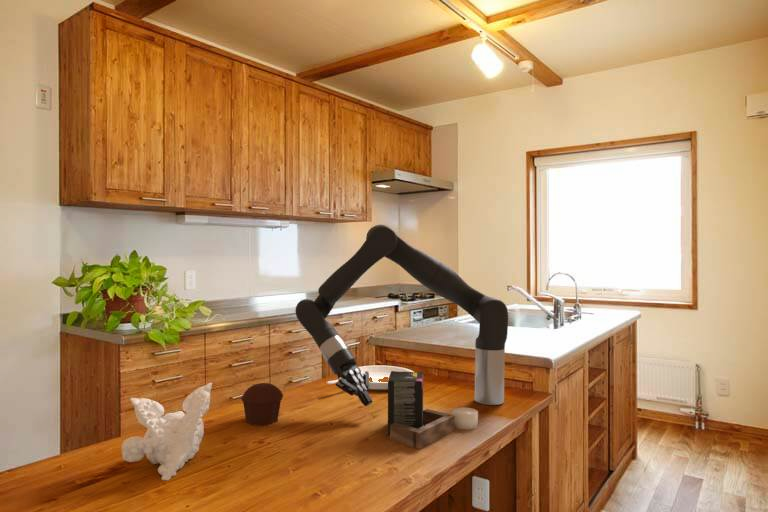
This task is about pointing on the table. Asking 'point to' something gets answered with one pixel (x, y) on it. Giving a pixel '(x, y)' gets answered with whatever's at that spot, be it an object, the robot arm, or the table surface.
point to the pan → (378, 375)
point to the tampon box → (405, 399)
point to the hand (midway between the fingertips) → (369, 404)
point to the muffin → (262, 404)
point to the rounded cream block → (465, 418)
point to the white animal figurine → (168, 432)
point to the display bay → (424, 429)
